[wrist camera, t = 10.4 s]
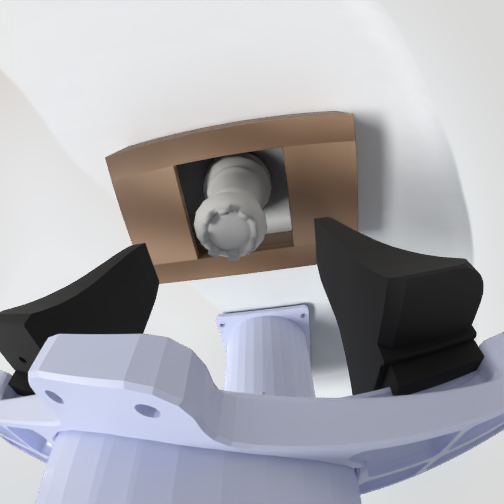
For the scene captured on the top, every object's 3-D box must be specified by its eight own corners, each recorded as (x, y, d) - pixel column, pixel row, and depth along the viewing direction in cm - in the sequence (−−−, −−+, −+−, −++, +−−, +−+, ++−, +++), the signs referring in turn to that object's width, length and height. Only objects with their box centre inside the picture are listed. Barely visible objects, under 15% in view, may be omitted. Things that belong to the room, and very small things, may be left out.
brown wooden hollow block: (342, 234, 21) (357, 258, 18) (161, 258, 22) (148, 284, 19) (335, 111, 16) (353, 114, 13) (128, 146, 18) (105, 157, 14)
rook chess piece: (274, 151, 18) (287, 187, 11) (269, 214, 20) (277, 282, 13) (204, 148, 18) (172, 183, 11) (205, 211, 20) (180, 277, 13)
